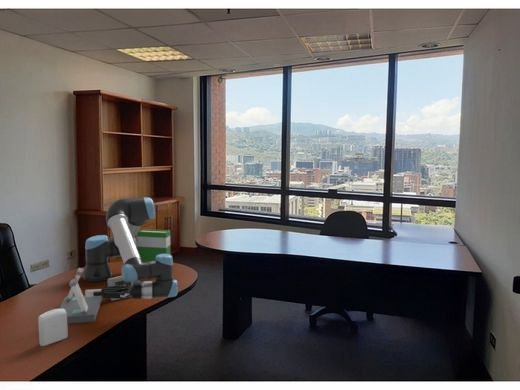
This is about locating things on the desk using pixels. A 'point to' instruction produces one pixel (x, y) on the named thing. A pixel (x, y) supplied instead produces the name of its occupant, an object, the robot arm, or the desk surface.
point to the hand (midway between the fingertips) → (85, 293)
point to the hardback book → (153, 243)
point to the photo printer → (52, 326)
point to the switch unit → (75, 312)
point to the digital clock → (118, 281)
